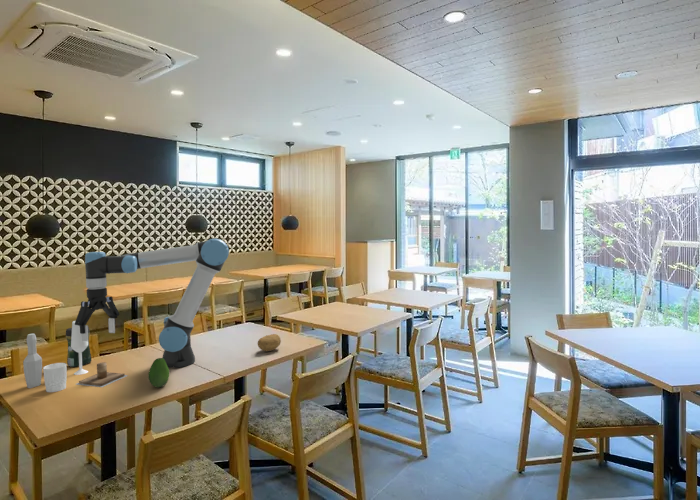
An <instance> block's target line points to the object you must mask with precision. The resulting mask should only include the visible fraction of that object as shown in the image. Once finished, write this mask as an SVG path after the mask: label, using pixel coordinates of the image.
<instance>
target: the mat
mask: <svg viewBox="0 0 700 500" xmlns="http://www.w3.org/2000/svg"><path fill="white" fill-rule="evenodd" d="M126 377H128V375H126V374H125V376H124V377H121V378H119V379H117V380H115V381H112V382H110V383H108V384H106V385H103V386H97V385H88V384H79V382H77V383H76V385H79V386H87V387H95V388H96V387H97V388H104V387H105V386H106V387H107V386H108V385H111V384H113V383H116V382H117V381H119V380H121V379H124V378H126Z"/></svg>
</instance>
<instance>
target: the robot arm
mask: <svg viewBox="0 0 700 500" xmlns="http://www.w3.org/2000/svg"><path fill="white" fill-rule="evenodd" d="M229 254H230V249H229V246H228V245H227V243H226V242H225V240H223V239H221V238H210V239H207V240H204V241H197V242H196V243H195V244H191V245H185V246H184V245H183V246H178V247H170V248H169V247H168V248H164V249H161V248H160V249H154V250H148V251H141V252H140V251H139V252H133V253H131V252H130V253H126V254H125V253H124V254H123V255H112V256H111V255H110V256H109V255H106V252H104V251H90V252H87V253H85V256H84V257H85V259H84V266H85V285H86V286H85V287H86V288H87V289H86V298H88V299H87V301H81V302H80V308H79V311H78V314H77V316H76V318H75V320H74V321H75V325H78V326H80V333H81V336H82V341H88V327H89V325H88V322H89V320H90V319H91V317H92V315H93V314H94V312H96V311H98V310H102V311H104V313H106V314H107V316H108V317H109V318H108V333H109V334H115V333H116V324H117V323H116V319H117V318H118V317H119V316H120V311H119V310H118V308H117V305H116V304H115V302H114V297H113V296H108V288H107V287H108V286H107V285H108V284H107V283H108V282H107V274H108V275H110V274H132V273H136V271H137V270H139V269H146V268H151V267H152V268H153V267H158V266H159V267H161V266H166V265H167V266H168V265H173V264H174V265H175V264H180V263H181V264H182V263H188V262H195V263H196V264H195V265H196V268H195V270H194V272H193V274H192V276H191V279H190V280H189V282H188V284H187V286H186V289H185V291H184V293H183V295H182V297H181V298H180V301H179V303H178V306H177V307H176V310H175V312H174V313H173V314H172V315H169V316H166V317H164V318H163V328H162V330H161V332H160V333H159V335H158V342H159V345H160V347H161V348H162V349H163V350H164V351H163V354H162V357H161V358H163V359H164V360H165V362H166V364H167V367H168V368H170V369H171V368H172V369H173V368H183V367H187V366H190V365H193V364H194V363H195V362H196V357H195V354H194V351H193V348H192V343H191V333H192V331H193V329H194V327H195V324H194V322H193V321H194V319H195V317H196V314H197V312H198V311H199V308H200V307H201V305H202V302H203V300H204V298H205V296H206V294H207V292H208V290H209V288H210V286H211V284H212V281H213V279H214V277H215V275H216V274H218V273H220V272H221V270H222V269H223V266H224V264H225V262H226V261H227V259H228V257H229Z"/></svg>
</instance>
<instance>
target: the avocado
mask: <svg viewBox="0 0 700 500" xmlns="http://www.w3.org/2000/svg"><path fill="white" fill-rule="evenodd" d="M147 378H148V381H149V383H150V384H151V386H153V387H155V388H162V387H164V386H165V385H166V384H167V383H168V381H169V378H170V369H169V367H167V364H166V362H165V360H164V359H163V358H162V357H158V358H155V360H153V362H152V364H151V365H150V368H149V371H148V377H147Z"/></svg>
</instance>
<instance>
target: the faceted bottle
mask: <svg viewBox="0 0 700 500" xmlns="http://www.w3.org/2000/svg"><path fill="white" fill-rule="evenodd" d="M26 346H27V355H26V357H25V358H24V360H23V361H22V362H23V373H24V379H25V384H26V388H28V389H33V388H36V387H39V386H41V384H42V377H43V376H42V375H43V374H42V373H43V372H42V371H43V357H42V356H41V355H39V353H37V336H36V334H35V333H29V334H27V336H26Z"/></svg>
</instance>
